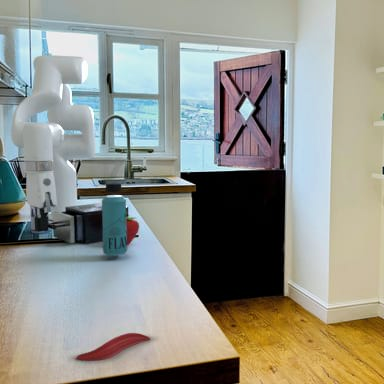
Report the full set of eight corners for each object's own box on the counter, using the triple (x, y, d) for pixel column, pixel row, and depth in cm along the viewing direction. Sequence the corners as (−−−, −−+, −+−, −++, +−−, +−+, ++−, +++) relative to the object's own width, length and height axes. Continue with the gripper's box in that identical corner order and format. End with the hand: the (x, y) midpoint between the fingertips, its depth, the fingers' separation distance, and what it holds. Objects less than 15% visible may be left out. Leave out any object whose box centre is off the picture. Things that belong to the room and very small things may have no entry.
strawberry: (111, 244, 142) (110, 210, 141) (136, 241, 146) (135, 209, 145) (117, 248, 137) (116, 214, 136) (142, 245, 141) (142, 212, 140)
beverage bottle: (105, 262, 123) (103, 184, 120) (100, 256, 129) (98, 182, 126) (130, 259, 126) (129, 183, 123) (124, 253, 132) (122, 181, 129)
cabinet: (86, 244, 142) (85, 212, 140) (66, 237, 150) (65, 206, 149) (128, 236, 152) (128, 206, 151) (107, 230, 161) (107, 202, 159)
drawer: (56, 245, 136) (55, 218, 135) (39, 239, 144) (38, 213, 142) (112, 236, 148) (111, 211, 147) (93, 230, 156) (92, 206, 155)
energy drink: (42, 234, 154) (41, 197, 152) (27, 233, 155) (26, 196, 153) (52, 230, 159) (51, 194, 158) (38, 229, 160) (36, 194, 159)
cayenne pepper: (78, 364, 70) (78, 352, 70) (72, 351, 74) (72, 339, 74) (157, 347, 76) (157, 335, 76) (147, 335, 80) (147, 325, 80)
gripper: (63, 168, 133) (66, 233, 135) (41, 164, 143) (43, 225, 146) (36, 169, 128) (39, 237, 130) (15, 166, 138) (18, 228, 140)
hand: (41, 230), depth 138 cm, fingers closed
